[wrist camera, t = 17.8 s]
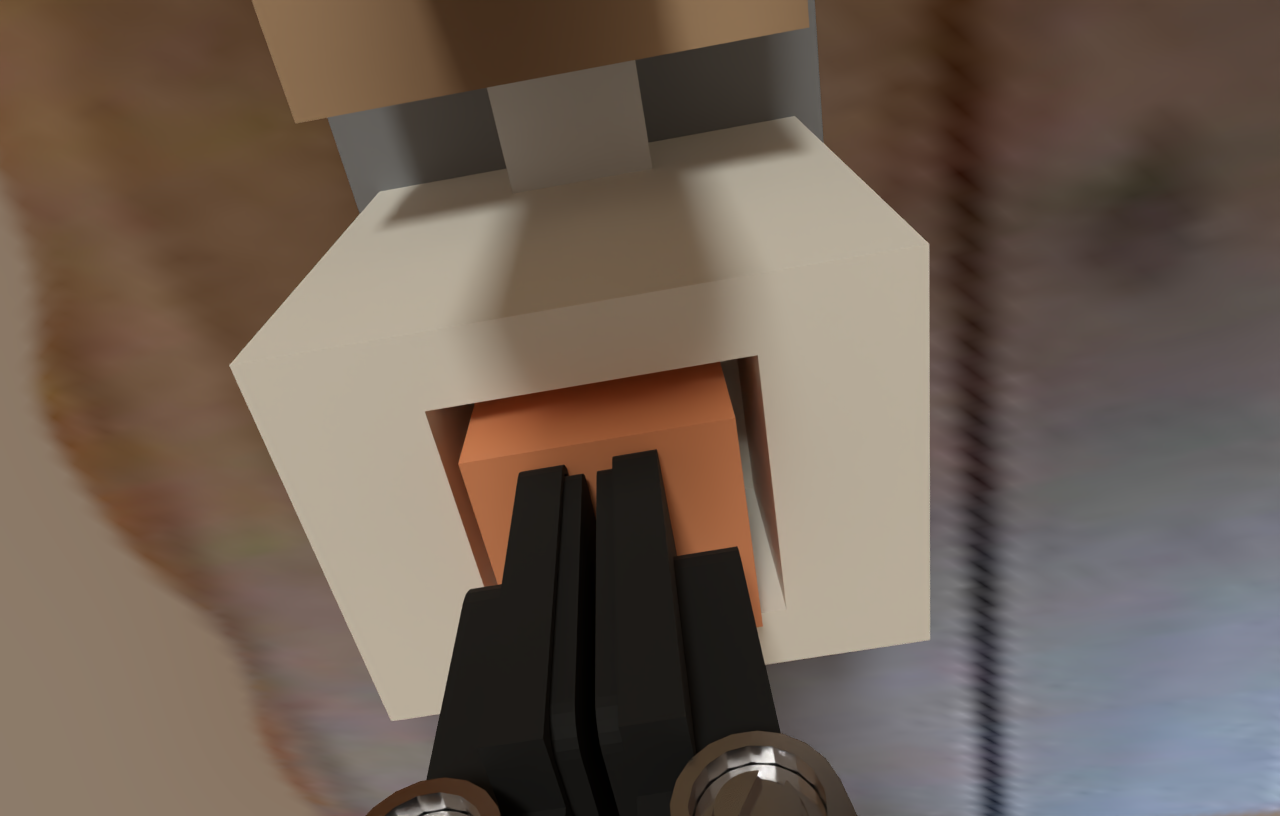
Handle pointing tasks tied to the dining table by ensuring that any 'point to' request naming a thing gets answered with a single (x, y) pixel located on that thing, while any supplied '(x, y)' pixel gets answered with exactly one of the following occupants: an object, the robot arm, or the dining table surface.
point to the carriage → (483, 42)
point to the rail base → (608, 337)
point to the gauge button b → (617, 425)
